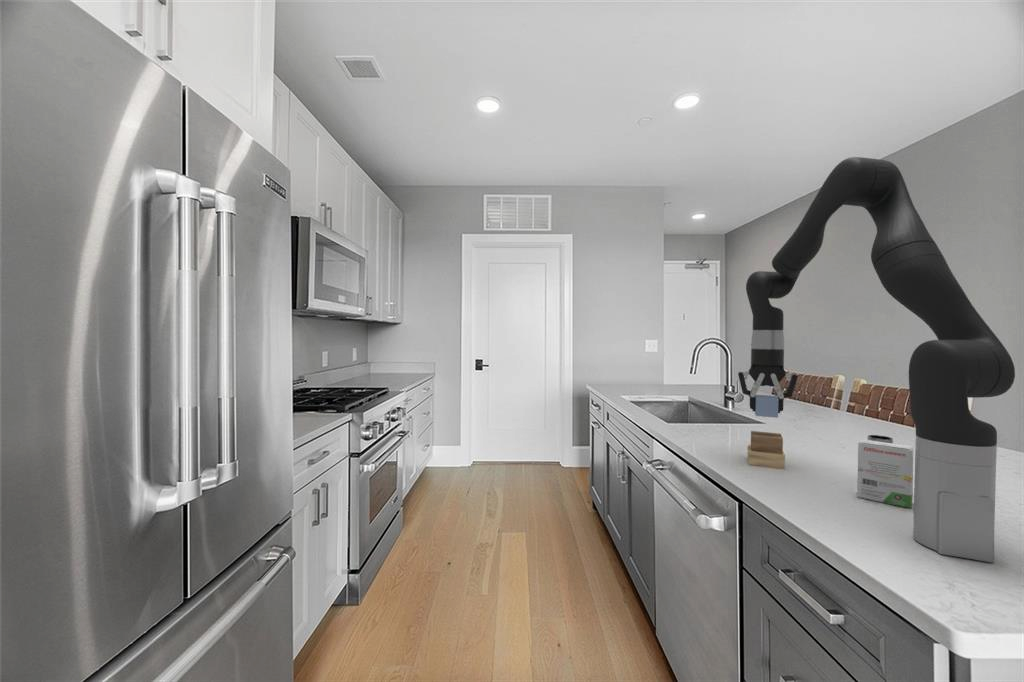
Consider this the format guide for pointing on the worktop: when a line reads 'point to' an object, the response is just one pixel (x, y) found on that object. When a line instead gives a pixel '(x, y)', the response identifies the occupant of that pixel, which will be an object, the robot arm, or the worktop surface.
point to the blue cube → (766, 406)
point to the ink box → (885, 472)
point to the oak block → (766, 459)
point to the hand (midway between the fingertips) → (766, 411)
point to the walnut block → (766, 442)
